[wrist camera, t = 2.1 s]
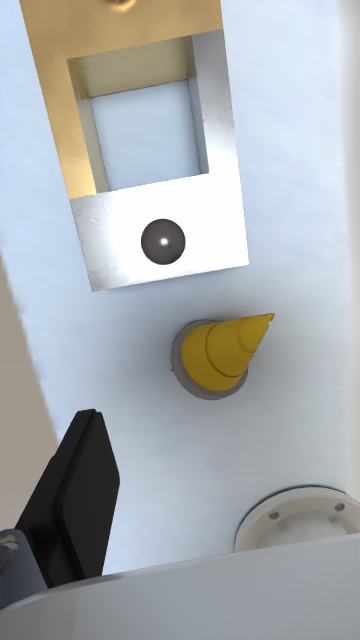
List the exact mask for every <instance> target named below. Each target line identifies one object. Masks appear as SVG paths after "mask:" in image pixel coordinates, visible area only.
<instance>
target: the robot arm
mask: <svg viewBox="0 0 360 640" xmlns="http://www.w3.org/2000/svg"><path fill="white" fill-rule="evenodd" d="M119 485H120V476H119V471H118V468H117V464H116V461H115V457H114V454H113V450H112V447H111V443H110V440H109V436H108V433H107V429H106V426H105V422H104V419H103V415H102V413H101V412H96V410H95V409H88V410H82V411H78V412H77V413H76V414H75V416H74V418H73V420H72V422H71V424H70V426H69V428H68V430H67V432H66V434H65V436H64V438H63V440H62V442H61V444H60V446H59V447H58V449H57V451H56V453H55V455H54V456H53V457H52V458H51V459H50V461H49V463H48V465H47V467H46V469H45V471H44V472H43V475H42V476H41V478H40V480H39V482H38V484H37V486H36V488H35V490H34V492H33V494H32V495H31V497H30V499H29V501H28V503H27V505H26V507H25V509H24V511H23V513H22V515H21V516H20V518H19V521H18V522H17V524H16V526H15V528H14V529H5V530H2V531H0V640H360V503H359V502H358V501H356V500H354V499H353V498H352V497H350V496H349V495H347V494H344V493H342V492H339V491H337V490H332V489H327V488H319V487H306V488H298V489H292V490H289V491H285V492H282V493H279V494H277V495H275V496H273V497H271V498H269V499H267V500H266V501H264V502H263V503H261V504H260V505H258V506H257V507H256V508H255V509H254V510H253V511H252V512H251V513H249V514H248V516H247V517H246V518H245V520H244V521H243V523H242V524H241V526H240V528H239V530H238V532H237V535H236V540H235V553H231V554H225V555H218V556H212V557H206V558H200V559H194V560H188V561H182V562H176V563H170V564H164V565H158V566H152V567H147V568H141V569H136V570H130V571H125V572H120V573H114V574H109V575H103V576H102V571H103V566H104V561H105V556H106V551H107V546H108V540H109V535H110V530H111V525H112V520H113V515H114V510H115V505H116V500H117V495H118V490H119Z"/></svg>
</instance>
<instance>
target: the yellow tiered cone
mask: <svg viewBox="0 0 360 640" xmlns="http://www.w3.org/2000/svg"><path fill="white" fill-rule="evenodd" d="M274 316H275V314H274V313H270V314H264V315H258V316H252V317H246V318H240V319H234V320H228V321H222V322H215V321H211V320H199V321H195V322H193V323H191V324H189V325H188V326H186V327H185V328H184V329H183V330H182V331H181V332H180V334H179V335H178V336H177V337H176V339H175V341H174V343H173V345H172V349H171V363H172V367H173V368H172V369H171V371H174V373H175V375H176V377H177V379H178V381H179V382H180V383H181V384H182V386H183V387H184V388H185V389H186V390H187V391H189V392H190V393H191V394H193V395H195V396H196V397H199V398H202V399H205V400H219V399H222V398H225V397H227V396H229V395H232V394H233V393H235V392H237V391H238V390H239V389H240V388H241V387H242V385H243V384H244V382H245V380H246V377H247V374H248V364H249V362H250V360H251V358H252V356H253V354H254V353H255V351H256V349H257V347H258V345H259V343H260V342H261V340H262V338H263V336H264V334H265V332H266V331H267V329H268V327H269V325H268V322H269V321H272V319H273V318H274Z"/></svg>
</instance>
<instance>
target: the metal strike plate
mask: <svg viewBox="0 0 360 640" xmlns="http://www.w3.org/2000/svg"><path fill="white" fill-rule="evenodd" d="M19 2H20V6H21V10H22V14H23V18H24V22H25V26H26V30H27V34H28V38H29V42H30V46H31V50H32V54H33V58H34V62H35V66H36V70H37V73H38V77H39V81H40V85H41V89H42V93H43V97H44V101H45V105H46V109H47V113H48V117H49V121H50V125H51V129H52V133H53V137H54V141H55V145H56V149H57V153H58V157H59V161H60V165H61V169H62V173H63V177H64V181H65V185H66V189H67V193H68V197H69V201H70V205H71V209H72V213H73V217H74V221H75V225H76V229H77V233H78V237H79V241H80V245H81V249H82V253H83V257H84V261H85V265H86V269H87V273H88V277H89V281H90V285H91V289H92V292H93V291H99V290H105V289H111V288H116V287H122V286H128V285H134V284H139V283H145V282H151V281H157V280H162V279H168V278H174V277H179V276H185V275H191V274H197V273H202V272H208V271H214V270H220V269H225V268H231V267H237V266H243V265H248V264H249V260H248V251H247V242H246V232H245V223H244V214H243V205H242V196H241V187H240V177H239V168H238V159H237V150H236V141H235V132H234V122H233V113H232V104H231V95H230V86H229V77H228V67H227V58H226V49H225V40H224V31H223V22H222V12H221V3H220V0H19ZM185 79H188V84H189V91H190V99H191V106H192V113H193V120H194V127H195V134H196V142H197V149H198V156H199V163H200V170H201V175H198V176H192V177H187V178H181V179H176V180H170V181H165V182H159V183H154V184H148V185H143V186H137V187H132V188H126V189H121V190H115V191H109V186H108V181H107V177H106V172H105V168H104V163H103V158H102V154H101V149H100V145H99V140H98V135H97V131H96V126H95V121H94V117H93V112H92V108H91V103H90V98H91V97H96V96H101V95H107V94H112V93H117V92H122V91H128V90H133V89H138V88H143V87H148V86H154V85H159V84H164V83H169V82H175V81H180V80H185Z"/></svg>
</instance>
